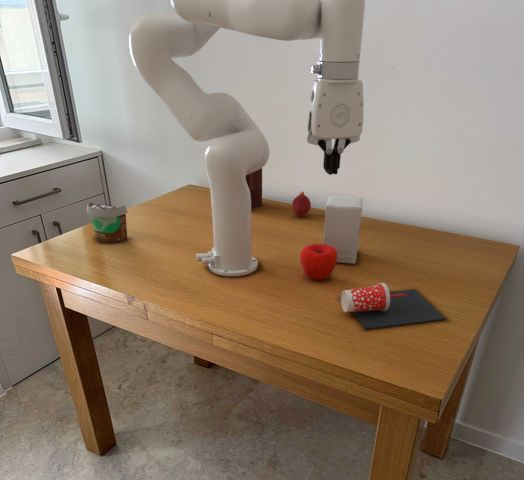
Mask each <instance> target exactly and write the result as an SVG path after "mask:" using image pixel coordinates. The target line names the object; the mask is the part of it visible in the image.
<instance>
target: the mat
mask: <svg viewBox="0 0 524 480" xmlns="http://www.w3.org/2000/svg"><path fill="white" fill-rule="evenodd" d="M389 293H390V295H398V294H406V296H399V297H390V305H389V308H388V310H387V311H380V310H379V311H359V312H352V314H353V315H354V317H355V318H356V319H357V321H358V322H359V323H360V324H361V326H362V327H363V328H364V329H365V330H367V331H369V330H375V329H383V328H392V327H401V326H409V325H416V324H424V323H431V322H441V321H445V320H446V318H445V317H444V316H443V314H441V313H440V312H439V311H438V310H437V309H436V308H435V307H434V306H433V305H431V303H430V302H429V301H427V299H425V298H424V297H423V296H422V295H421V294H420V293H419V292H418V291H417V290H416V289H406V290H399V291H398V290H397V291H389Z"/></svg>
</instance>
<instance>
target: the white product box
mask: <svg viewBox="0 0 524 480" xmlns="http://www.w3.org/2000/svg"><path fill="white" fill-rule="evenodd" d="M363 201H364V198H363V197H359V196H343V195H341V196H340V195H329V196H328V198H327V202H326V205H325V218H324V230H323V242H322V244H324V245H329V246H332V247H333V248H335V249H336V251H337V261H336V263H341V264H352V265H356V263H357V255H358V251H359V250H358V249H359V248H358V247H359V242H360V235H361V225H362V213H363Z"/></svg>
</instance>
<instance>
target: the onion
mask: <svg viewBox="0 0 524 480" xmlns="http://www.w3.org/2000/svg"><path fill="white" fill-rule="evenodd" d="M311 203H312V202H311V200H310V198H309V197H308V196H307V195H306V194H305V192H304V191H303V190H302V191H300V193H299V194H298V195H297V196H296V197H294V199H293V200H292V210H293V212H294V213H295V214H296V215H297V216H298V217H299V218H302V217H304V216H305V215H307V214H308V213H309V212H310V210H311V208H312V204H311Z"/></svg>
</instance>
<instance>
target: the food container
mask: <svg viewBox="0 0 524 480" xmlns="http://www.w3.org/2000/svg"><path fill="white" fill-rule="evenodd" d="M86 214H87V215H89V217H90V220H91V224H92V227H93V232H94V234H95V238H96V241H97V242H99V243H103V244H117V243H122V242H125V241H127V240H128V228H127V227H128V226H127V214H128V210H127V207H126V205H122V206H119V207H117V206H113V205H111V204H97V203H96V204H95V203H93V200H90V201H89V202H87V205H86Z"/></svg>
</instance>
